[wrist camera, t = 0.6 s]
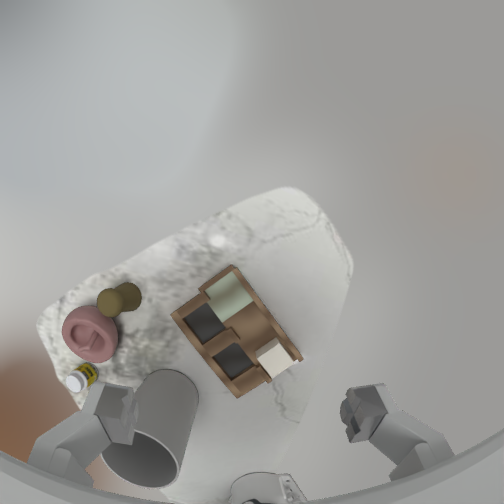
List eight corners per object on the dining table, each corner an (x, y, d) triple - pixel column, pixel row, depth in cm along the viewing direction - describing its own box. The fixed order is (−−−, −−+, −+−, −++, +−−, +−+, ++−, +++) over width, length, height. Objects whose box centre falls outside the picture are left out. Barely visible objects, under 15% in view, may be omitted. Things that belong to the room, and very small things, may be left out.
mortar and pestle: (87, 356, 56) (61, 372, 44) (75, 305, 56) (46, 312, 44) (132, 353, 56) (111, 371, 45) (119, 299, 56) (95, 307, 45)
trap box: (299, 353, 58) (303, 359, 54) (237, 394, 57) (237, 403, 53) (233, 262, 58) (233, 263, 54) (169, 309, 57) (164, 312, 53)
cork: (126, 316, 56) (104, 327, 45) (110, 292, 56) (86, 299, 45) (147, 300, 57) (128, 309, 46) (130, 276, 57) (108, 279, 46)
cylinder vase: (210, 399, 57) (197, 472, 32) (170, 425, 56) (142, 496, 31) (171, 357, 56) (132, 414, 32) (132, 386, 56) (84, 445, 31)
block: (290, 355, 56) (294, 363, 51) (269, 369, 55) (272, 378, 51) (276, 336, 56) (279, 343, 51) (255, 351, 55) (256, 358, 51)
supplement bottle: (101, 370, 56) (85, 383, 47) (95, 384, 55) (79, 398, 47) (85, 358, 55) (67, 369, 47) (79, 372, 55) (62, 385, 47)
